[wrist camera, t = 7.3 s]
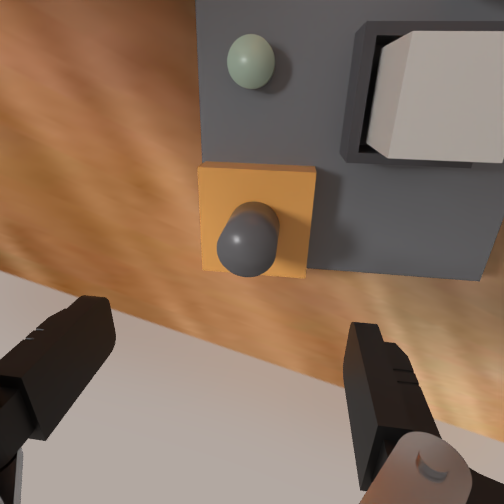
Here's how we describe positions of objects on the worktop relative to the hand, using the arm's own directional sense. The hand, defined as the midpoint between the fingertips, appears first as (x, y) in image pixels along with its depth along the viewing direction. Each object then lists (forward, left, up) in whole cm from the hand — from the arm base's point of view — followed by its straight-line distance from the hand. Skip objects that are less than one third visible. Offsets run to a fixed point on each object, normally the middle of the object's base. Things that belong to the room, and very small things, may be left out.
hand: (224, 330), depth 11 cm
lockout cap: (0, 0, -12) cm, 12 cm away
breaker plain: (+7, +7, -9) cm, 14 cm away
